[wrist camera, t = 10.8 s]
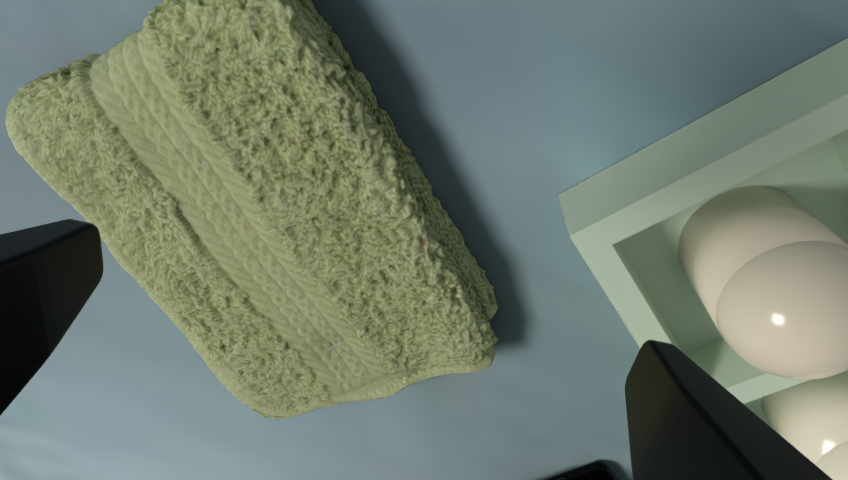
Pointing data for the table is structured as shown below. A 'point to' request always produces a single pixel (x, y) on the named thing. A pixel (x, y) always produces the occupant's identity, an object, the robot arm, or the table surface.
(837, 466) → the egg
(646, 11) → the table surface
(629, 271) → the egg tray
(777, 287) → the egg
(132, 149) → the washcloth
